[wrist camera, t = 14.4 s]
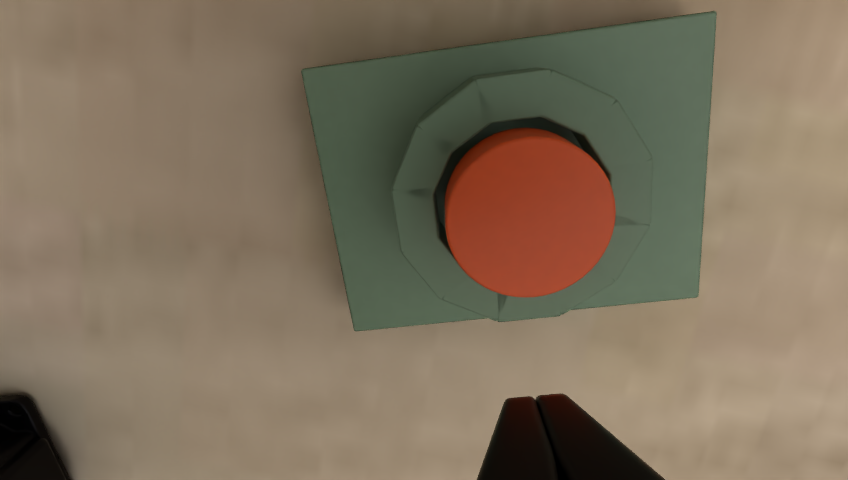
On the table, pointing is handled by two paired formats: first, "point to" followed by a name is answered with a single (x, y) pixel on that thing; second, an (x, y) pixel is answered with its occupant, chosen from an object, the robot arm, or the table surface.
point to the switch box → (502, 110)
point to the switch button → (528, 212)
